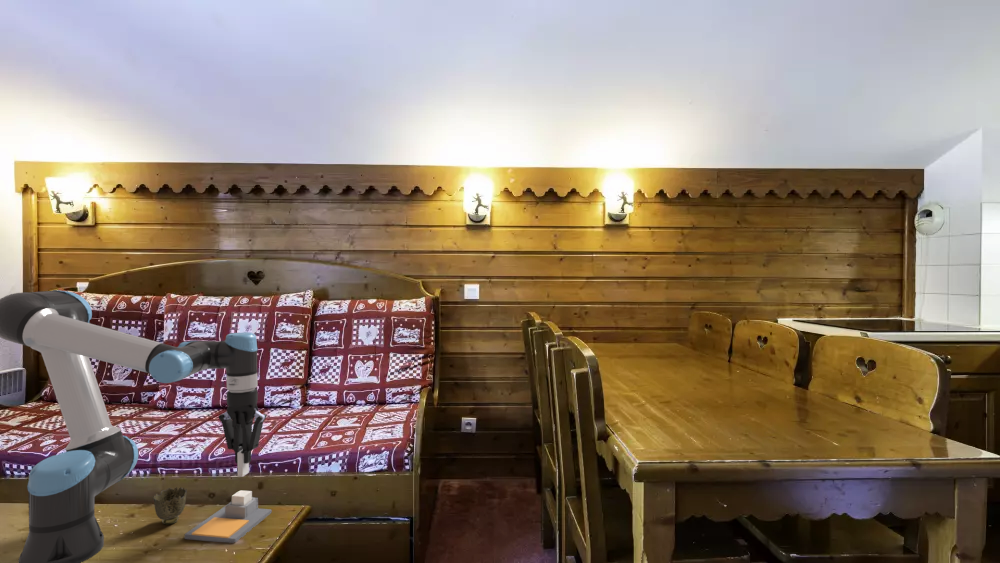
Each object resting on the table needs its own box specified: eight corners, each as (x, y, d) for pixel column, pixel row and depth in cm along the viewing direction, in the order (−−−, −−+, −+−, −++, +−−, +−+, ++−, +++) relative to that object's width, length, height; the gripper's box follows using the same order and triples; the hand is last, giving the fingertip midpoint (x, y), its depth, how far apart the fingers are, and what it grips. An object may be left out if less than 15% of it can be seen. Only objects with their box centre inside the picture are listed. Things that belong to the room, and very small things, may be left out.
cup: (169, 531, 125) (169, 500, 125) (146, 527, 127) (146, 497, 127) (193, 517, 133) (193, 488, 132) (171, 514, 134) (170, 485, 134)
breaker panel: (184, 538, 122) (184, 522, 122) (225, 509, 137) (225, 495, 137) (235, 543, 120) (235, 526, 120) (271, 513, 135) (271, 498, 135)
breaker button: (231, 507, 132) (231, 495, 132) (240, 501, 135) (240, 490, 135) (243, 508, 131) (243, 496, 131) (251, 502, 134) (251, 491, 134)
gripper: (210, 392, 129) (211, 478, 130) (255, 393, 128) (256, 481, 128) (229, 385, 137) (230, 467, 137) (272, 386, 135) (273, 470, 136)
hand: (243, 474), depth 133 cm, fingers closed
